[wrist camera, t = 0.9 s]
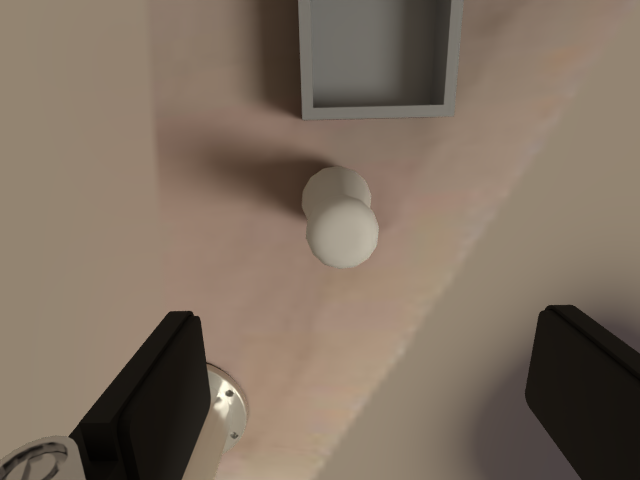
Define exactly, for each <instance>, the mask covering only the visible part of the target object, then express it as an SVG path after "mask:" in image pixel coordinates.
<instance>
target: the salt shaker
mask: <svg viewBox="0 0 640 480" xmlns="http://www.w3.org/2000/svg"><path fill="white" fill-rule="evenodd" d="M370 204H371V194H370V191H369V188H368V185H367V182H366V181H365V180H364V179H363V178H362V177H361V176H360V175H359V174H358V173H357V172H356V171H354V170H351V169H348V168H345V167H342V166H336V167H329V168H324V169H322V170H321V171H319V172H318V173H316V174H315V175H313V176H312V177H310V179H309V181H308V183H307V184H306V186H305V188H304V190H303V196H302V209H303V211H304V213H305V215H306V218H307V220H308V221H307V230H306V239H307V241H308V244H309V246H310V248H311V250H312V253H313V255H314V256H316V257H317V258H318V259H319V260H320V261H321V262H322V263H323V264H324V265H328V266H331V267H335V268H338V269H342V268H350V267H356V266H357V265H359V264H360V263H362V262H363V261H365V260H367V259H368V258H369V256H370V255H371V254H372V252H373V251H374V249H375V248H376V246H377V239H378V231H379V227H378V224H377V221H376V218H375V215H374V212H373V211H372V210H371V209H370Z"/></svg>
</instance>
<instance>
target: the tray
mask: <svg viewBox="0 0 640 480" xmlns="http://www.w3.org/2000/svg"><path fill="white" fill-rule="evenodd" d="M463 2H464V0H298V10H299V39H300V67H301V96H302V120H342V119H385V118H427V117H451V116H454V110H455V98H456V86H457V74H458V62H459V50H460V38H461V26H462V14H463Z"/></svg>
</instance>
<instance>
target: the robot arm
mask: <svg viewBox="0 0 640 480" xmlns="http://www.w3.org/2000/svg"><path fill="white" fill-rule="evenodd" d="M525 398H526V402H527V404H528V406H529V408H530V409H531V410H532V412H533V413H534V414H535V416H536V417H537V419H538V420H539V421H540V423H541V424H542V425H543V427H544V428H545V430H546V431H547V432H548V434H549V435H550V437H551V438H552V439H553V441H554V442H555V443H556V445H557V446H558V447H559V449H560V450H561V452H562V453H563V455H564V456H565V457H566V459H567V460H568V461H569V463H570V464H571V466H572V467H573V468H574V470H575V471H576V473H577V474H578V475H579V477H580V478H581V479H582V480H640V354H639V353H638V352H637V351H635V350H634V349H633V348H631V347H630V346H628V345H627V344H626V343H624V342H623V341H621V340H620V339H619V338H618V337H616V336H615V335H613V334H612V333H611V332H609V331H608V330H607V329H605V328H604V327H603V326H601V325H600V324H598V323H597V322H596V321H594V320H593V319H592V318H590V317H589V316H588V315H586V314H585V313H583V312H582V311H581V310H579V309H578V308H577V307H575V306H573V305H549V306H547V307H546V308H545V310H544V311H541V312H540V314H539V316H538V322H537V328H536V333H535V339H534V344H533V350H532V356H531V361H530V367H529V373H528V378H527V384H526V389H525ZM247 418H248V407H247V402H246V399H245V396H244V394H243V392H242V390H241V389H240V387H239V386H238V385H237V383H236V382H235V381H234V380H233V379H232V378H231V377H230V376H228V375H227V374H226V373H225V372H223V371H221V370H220V369H218V368H216V367H214V366H212V365H209V364H206V357H205V349H204V342H203V335H202V327H201V321H200V318H199V316H194V314H193V312H192V311H170V312H169V313H168V314H167V315H166V316H165V318H164V319H163V320H162V321H161V322H160V324H159V325H158V326H157V327H156V329H155V330H154V331H153V332H152V334H151V335H150V336H149V337H148V338H147V340H146V341H145V342H144V343H143V345H142V346H141V347H140V348H139V350H138V351H137V352H136V353H135V355H134V356H133V357H132V358H131V360H130V361H129V362H128V363H127V364H126V366H125V367H124V368H123V369H122V371H121V372H120V373H119V374H118V375H117V377H116V378H115V379H114V380H113V382H112V383H111V384H110V385H109V387H108V388H107V389H106V390H105V391H104V393H103V394H102V395H101V397H100V398H99V399H98V400H97V401H96V403H95V404H94V405H93V406H92V408H91V409H90V410H89V411H88V413H87V414H86V415H85V416H84V417H83V419H82V420H81V421H80V422H79V424H78V425H77V427H76V428H75V429H74V430H73V432H72V433H71V434H70V435H69V437H67V436H50V437H45V438H41V439H38V440H35V441H32V442H30V443H27V444H25V445H23V446H21V447H19V448H18V449H16V450H14V451H12V452H11V453H10V454H8V455H6V456H5V457H4V458H2V459H1V460H0V480H214V479H215V476H216V473H217V469H218V466H219V463H220V459H221V456H222V454H223V453H226V452H227V451H228V450H230V449H231V448H232V447H234V446H235V445H236V443H237V442H238V441H239V440H240V438H241V437H242V435H243V433H244V430H245V427H246V423H247Z"/></svg>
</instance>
